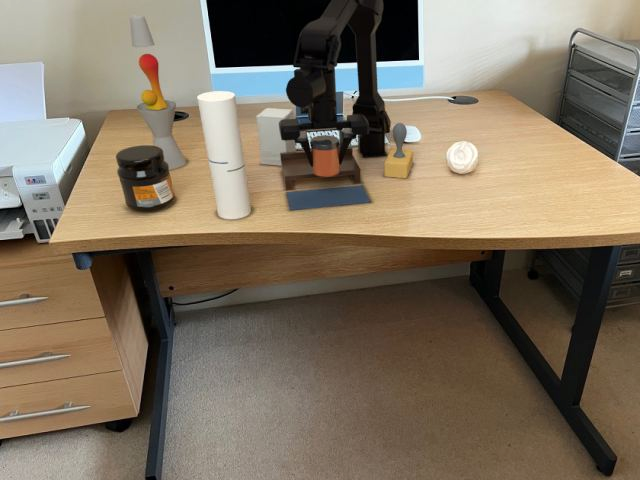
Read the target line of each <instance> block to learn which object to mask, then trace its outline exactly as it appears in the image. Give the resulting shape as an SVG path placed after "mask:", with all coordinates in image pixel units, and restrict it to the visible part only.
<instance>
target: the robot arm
mask: <svg viewBox="0 0 640 480" xmlns="http://www.w3.org/2000/svg"><path fill="white" fill-rule="evenodd" d="M383 12H384V0H331V1H330V2H329V4H328V6H327V7H326V9H325V10H324V12H323V13H322V14H321V16H320V17H319V18H318V19H315V20H313V21H310V22H309V23H307V24H306V25H305V26H304V27H303V29H302V30H301V32H300V34H299V35H298V39H297V44H296V48H295V53H294V59H293V61H292V67H293V68H296V69H294V70H293V77H291V78H290V79H289V80H288V82H287V83H286V87H285V92H286V96H287V99H288V100H289V102H290V103H291V104H292V105H294V106H295V107H298V108H299V114H300V115H307V119H308V121H309V122H304V123H303V122H302V123H299V121H298V118H293V119H284V120H281V121H280V122H279V131H280V136H281V140H284V141H287V140H294V141H295V144H299V145H300V146H301V148H302V149H303V151H305V153H306V155H307V158H308V160H309V163H310V165H311V167H313V160H312V154H311V144H310V141H309V140H310V139H309V137H308V133H319V132H334V131H338V136H339V137H338V139H339V163H340V164H342V161H343V158H344V156H345V153H346V151H347V148H348V147H350V145H351V143H352V141H353V140H356V139H357V151H358V152H359V153H360V155H361V156H362V158H371V157H372V158H374V157H375V158H376V157H385V156H388V154H387V152H386V135H387V134H389V133H391V127H392V126H391V124H392V121H391V119H390V117H389V114H388V112H387V110H386V105H385V100H384V99H383V98H382V95H380V93H379V91H378V90H379V89H378V67H377V65H378V64H377V44H376V43H377V42H376V40H377V39H376V31H377V30H378V27H379V25H380V24H381V22H382V17H383ZM347 25H348V26H349V28H350V29H351V31H352V33H353V34H354V39H355V53H356V56H355V57H356V69H357V86H358V96H357V98H356V100H355V102H354V103H353V105H352V113H351V114H346V120H344V119H343V120H338V110H337V106H338V105H337V85H336V84H337V83H336V69H335V68H336V67H338V62H337V61H338V58H339V54H340V51H341V48H342V41H341V37H340V36H341V35H342V32H343V31H344V29H345V28H346V27H347Z"/></svg>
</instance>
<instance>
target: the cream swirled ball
mask: <svg viewBox="0 0 640 480" xmlns="http://www.w3.org/2000/svg"><path fill="white" fill-rule="evenodd" d="M479 158H480V157H479V150H478V149H477V147H476V146H475V144H473V143H471V142H468V141H467V140H463V141H462V140H461V141H457V142H455V143H453V144H452V145H450V147H449V148H448V150H447V152H446V155H445V159H446V163H447V166H448V168H449V169H450V170H451V171H452V172H453V173H456V174H459V175H465V174H469V173H471V172H472V171H474V170H475V169H476V167H477V165H478V162H479Z"/></svg>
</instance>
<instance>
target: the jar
mask: <svg viewBox="0 0 640 480" xmlns="http://www.w3.org/2000/svg"><path fill="white" fill-rule="evenodd" d="M309 140H310V141H309V144H310V149H311V152H312V160H313V173H314V174H315V175H317V176H322V177H323V178H329V177H328V176H334V175H336V174H338V173H339V172H340V163H339V137H336V136H334V135H328V134H327V135H326V134H325V135H323V134H322V135H317V136H314V137H312V138H311V139H309ZM334 177H335V176H334Z"/></svg>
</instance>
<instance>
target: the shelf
mask: <svg viewBox="0 0 640 480" xmlns="http://www.w3.org/2000/svg"><path fill="white" fill-rule="evenodd" d="M353 152H354V150H353V147H352V146H349V147H348V148H347V151H346V153H345V156H344V158H343V161H342V164H340V172H339V173H338V174H336V175H334V176H328V177H327V178H333V177H345V176H350V178H351V180H352V183H353V184H354V185H356V184H361V181H362V179H361V177H362V176H361V175H362V174H361V168H360V165H359V164H358V162H357V160H356V158H355V156H354V153H353ZM311 154H312V152H311ZM280 158H281V167H280V168H281V174H282V178H283V183H284V188H285V190H286V191H290V190H291V191H292V190H293V189H294V187H293V181H299V180H309V179H320V178H323V179H324V177H322V176H317V175H315V174H314V173H313V167H311V165H310V163H309V160H308V158H307V155H306V153H305V151H304V150H296V152H284V153H280Z"/></svg>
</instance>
